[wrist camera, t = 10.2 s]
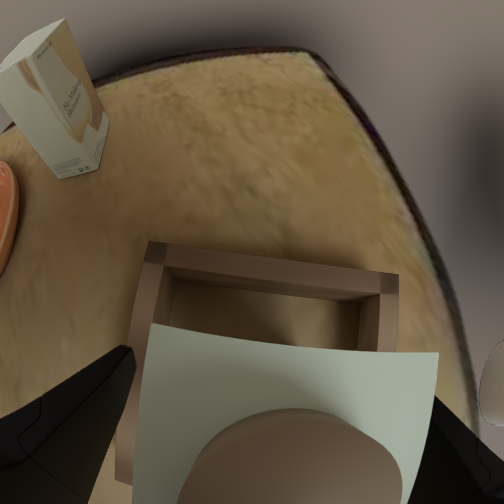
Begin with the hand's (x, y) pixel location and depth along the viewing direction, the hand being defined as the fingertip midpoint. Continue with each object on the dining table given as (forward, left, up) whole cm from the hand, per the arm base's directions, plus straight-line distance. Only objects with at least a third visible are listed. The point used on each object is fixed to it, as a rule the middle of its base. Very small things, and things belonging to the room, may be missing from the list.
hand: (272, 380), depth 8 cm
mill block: (-1, 0, -8) cm, 8 cm away
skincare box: (+12, +20, -8) cm, 24 cm away
